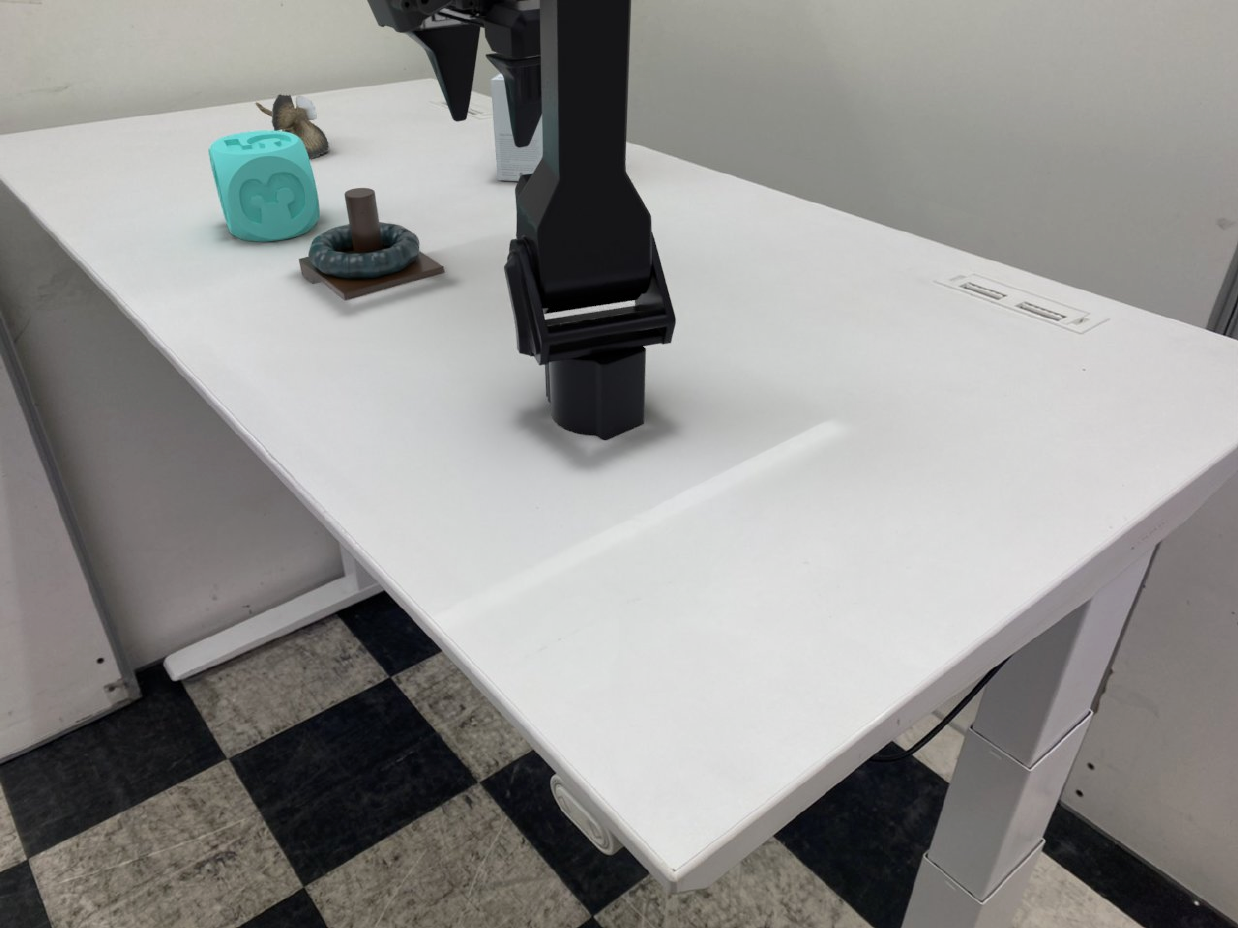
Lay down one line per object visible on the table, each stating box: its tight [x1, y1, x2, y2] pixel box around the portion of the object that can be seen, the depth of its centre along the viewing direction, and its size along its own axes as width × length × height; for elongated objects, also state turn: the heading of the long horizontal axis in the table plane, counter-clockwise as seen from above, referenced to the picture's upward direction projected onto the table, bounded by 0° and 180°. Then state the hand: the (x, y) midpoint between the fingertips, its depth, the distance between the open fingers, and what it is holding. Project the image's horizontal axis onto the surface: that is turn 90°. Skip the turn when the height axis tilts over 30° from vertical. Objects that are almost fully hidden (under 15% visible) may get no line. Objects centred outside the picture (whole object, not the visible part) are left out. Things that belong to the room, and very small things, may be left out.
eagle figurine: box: [254, 93, 330, 160], centre depth 108 cm, size 8×7×9 cm
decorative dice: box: [207, 130, 321, 243], centre depth 87 cm, size 8×8×8 cm
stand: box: [298, 187, 445, 301], centre depth 77 cm, size 9×9×8 cm
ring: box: [307, 221, 420, 279], centre depth 78 cm, size 9×9×2 cm
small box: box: [490, 72, 543, 182], centre depth 100 cm, size 8×6×10 cm
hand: (489, 133), depth 73 cm, fingers open, 9 cm apart
